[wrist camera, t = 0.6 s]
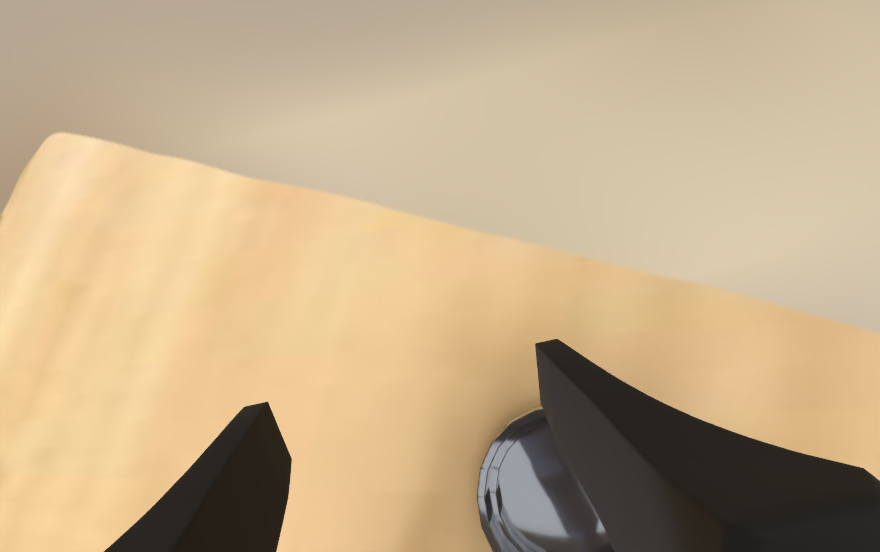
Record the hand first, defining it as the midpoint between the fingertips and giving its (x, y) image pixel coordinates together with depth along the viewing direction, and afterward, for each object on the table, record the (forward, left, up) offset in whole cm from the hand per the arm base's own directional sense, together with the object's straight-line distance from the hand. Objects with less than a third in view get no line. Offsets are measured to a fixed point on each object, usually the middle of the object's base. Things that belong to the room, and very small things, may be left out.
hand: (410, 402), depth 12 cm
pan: (-8, -4, -28) cm, 29 cm away
